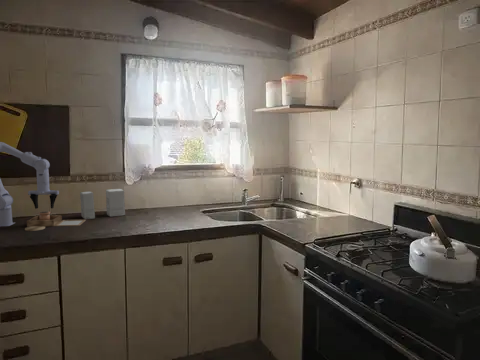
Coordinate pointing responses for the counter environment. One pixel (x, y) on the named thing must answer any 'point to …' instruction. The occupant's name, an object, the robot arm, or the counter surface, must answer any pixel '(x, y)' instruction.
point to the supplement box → (115, 202)
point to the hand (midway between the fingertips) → (44, 208)
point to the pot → (45, 215)
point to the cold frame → (44, 221)
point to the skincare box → (87, 205)
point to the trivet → (34, 228)
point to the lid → (70, 223)
